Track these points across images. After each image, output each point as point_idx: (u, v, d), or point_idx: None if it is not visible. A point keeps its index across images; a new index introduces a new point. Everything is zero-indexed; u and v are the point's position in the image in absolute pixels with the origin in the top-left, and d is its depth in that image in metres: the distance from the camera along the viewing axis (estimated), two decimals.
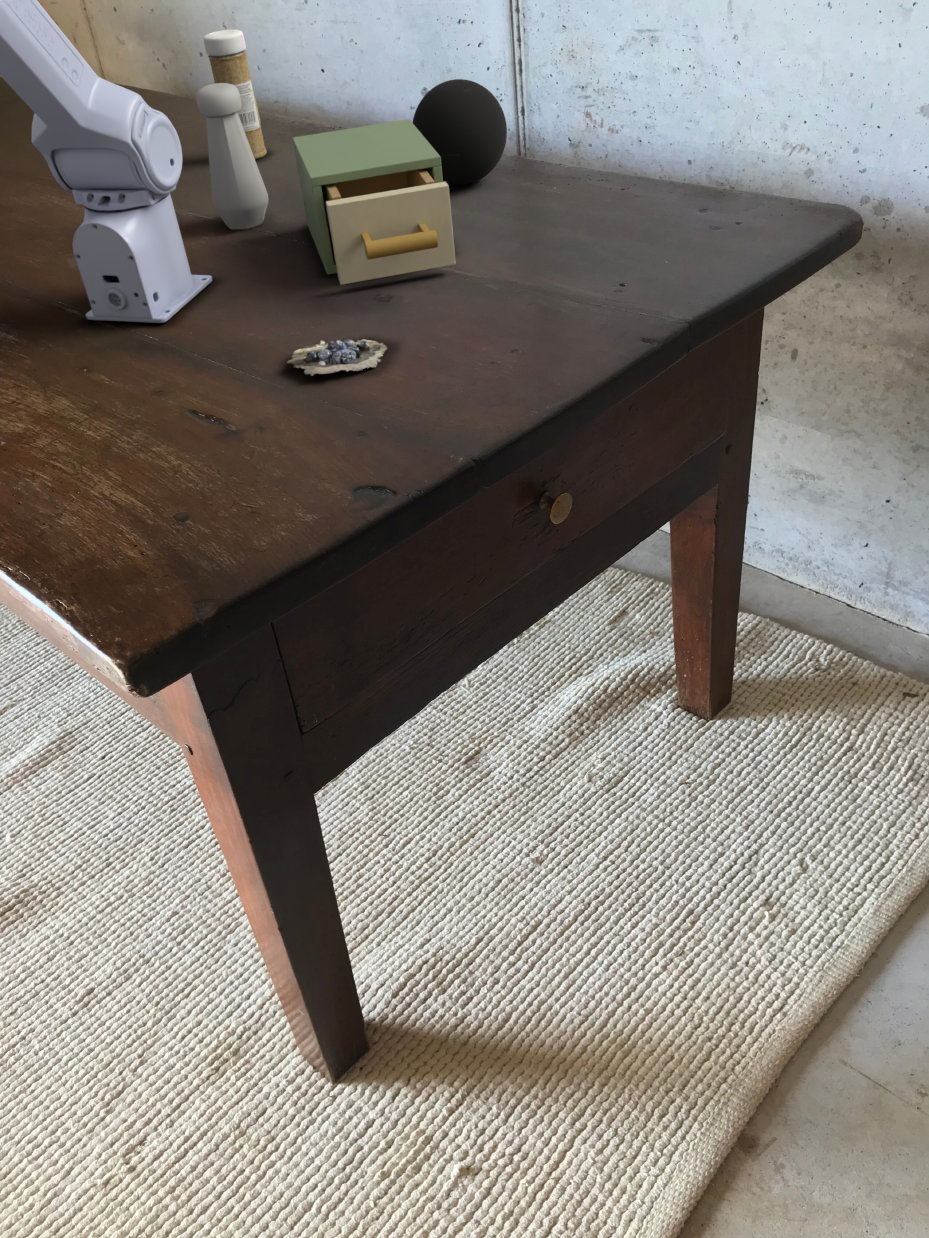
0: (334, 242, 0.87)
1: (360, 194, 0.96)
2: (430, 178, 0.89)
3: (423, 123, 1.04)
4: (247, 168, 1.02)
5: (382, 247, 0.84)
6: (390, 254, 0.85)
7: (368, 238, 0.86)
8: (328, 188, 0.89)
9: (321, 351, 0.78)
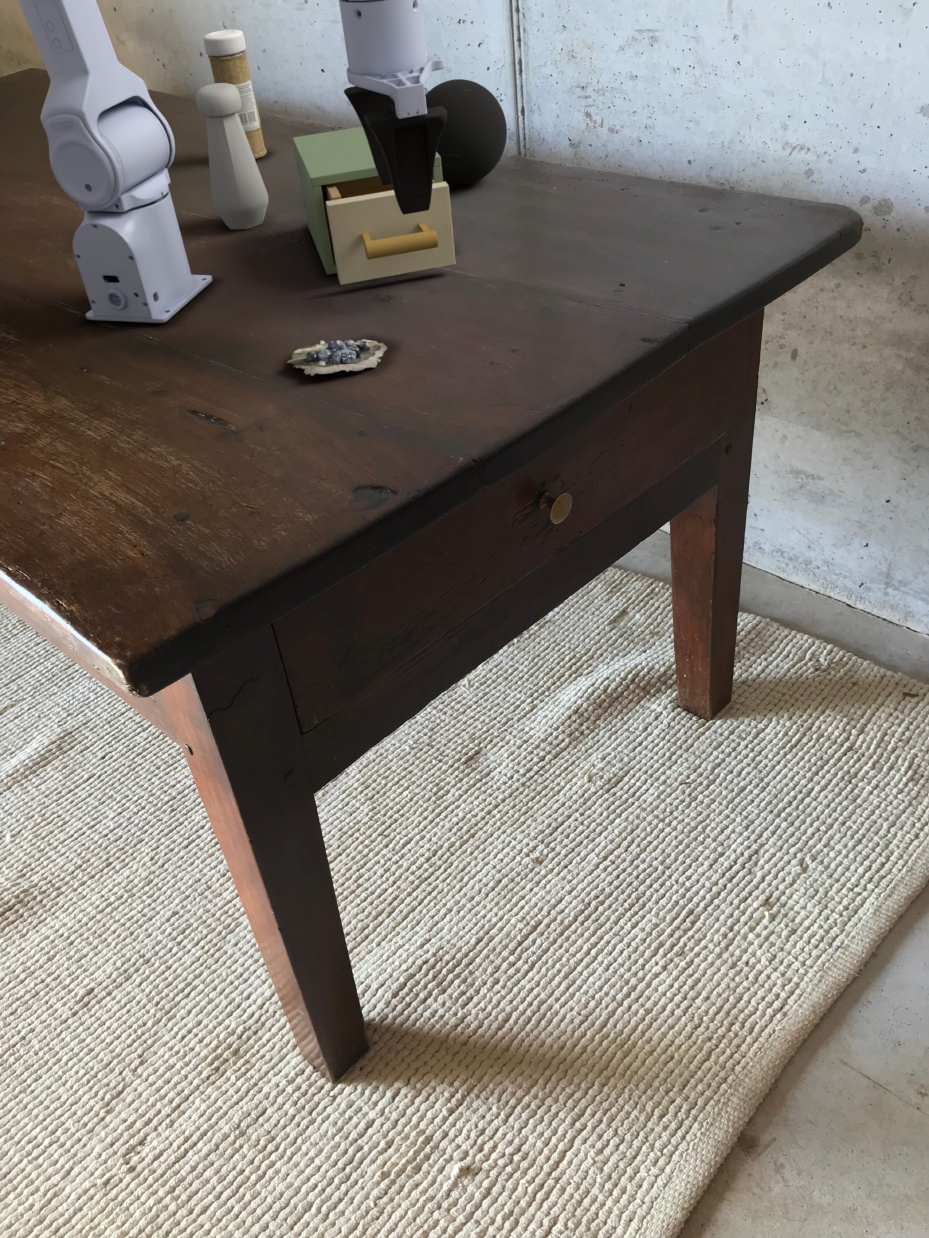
0: (334, 242, 0.87)
1: (360, 194, 0.96)
2: None
3: None
4: (247, 168, 1.02)
5: (382, 247, 0.84)
6: (390, 254, 0.85)
7: (368, 238, 0.86)
8: (328, 188, 0.89)
9: (321, 351, 0.78)
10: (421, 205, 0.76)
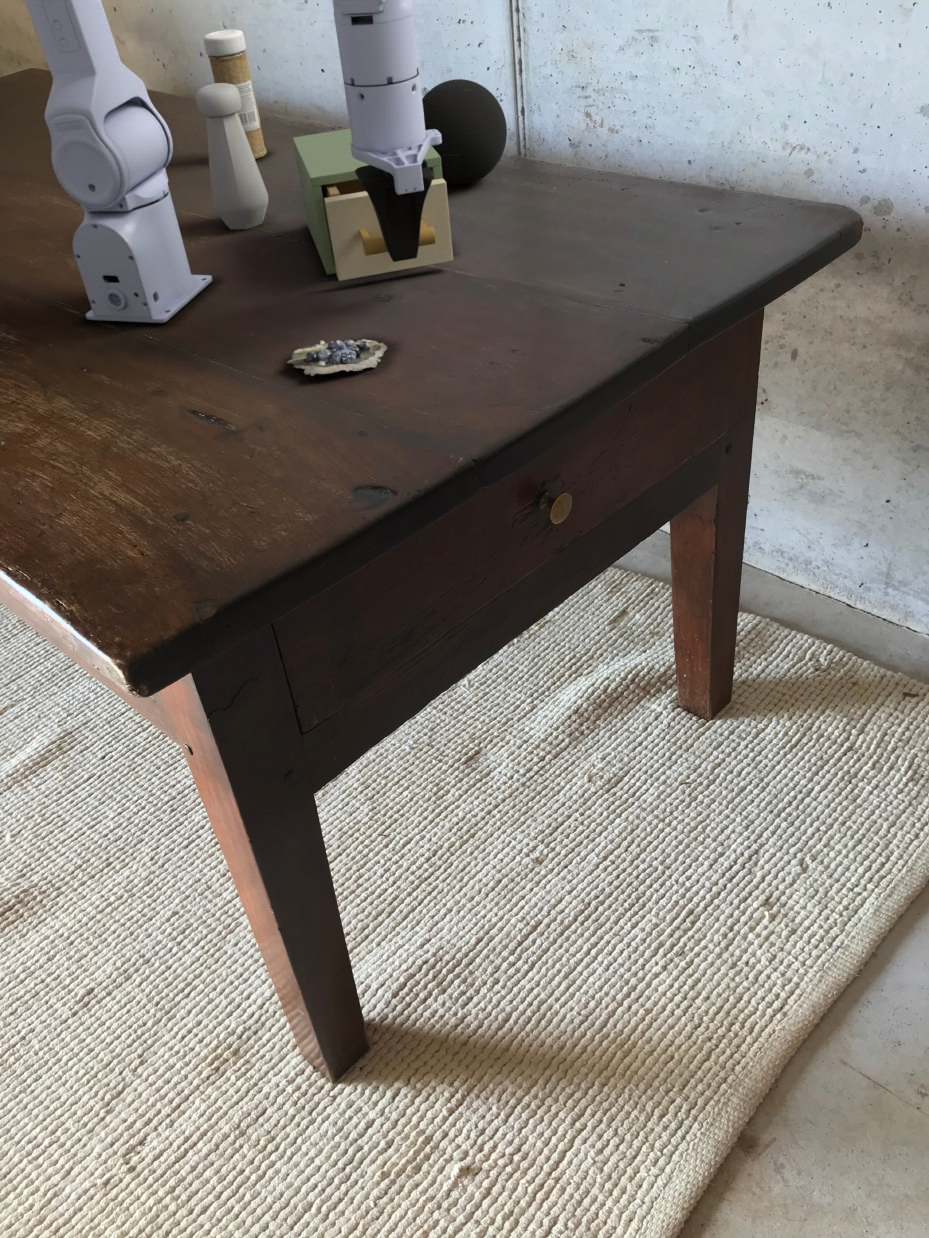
0: (332, 238, 0.88)
1: (358, 191, 0.97)
2: None
3: None
4: (247, 168, 1.02)
5: (380, 243, 0.85)
6: None
7: (366, 234, 0.87)
8: (326, 185, 0.90)
9: (321, 351, 0.78)
10: (409, 253, 0.84)
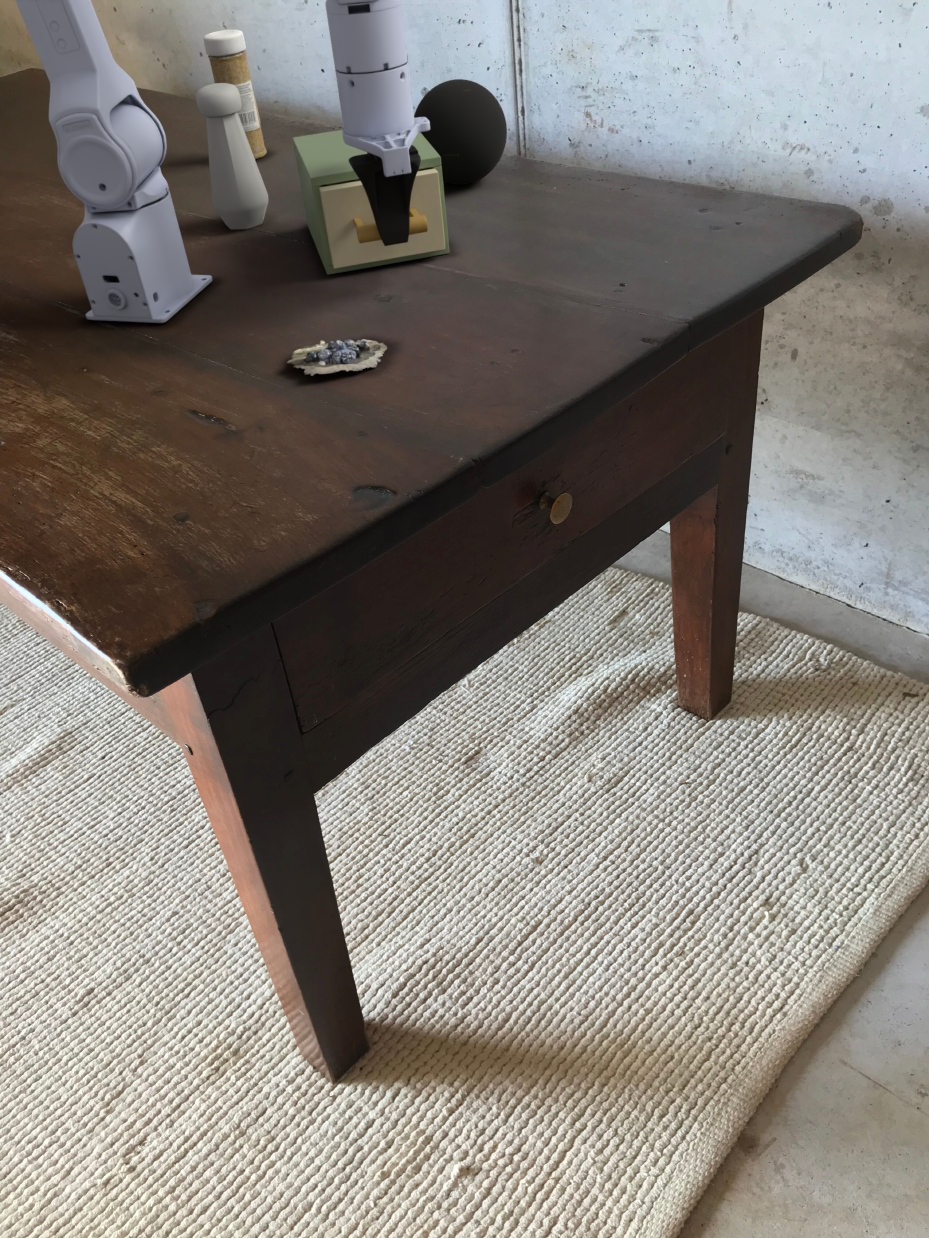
0: (327, 227, 0.90)
1: (353, 182, 0.99)
2: None
3: None
4: (247, 168, 1.02)
5: (373, 231, 0.87)
6: None
7: (360, 223, 0.89)
8: None
9: (321, 351, 0.78)
10: (399, 236, 0.87)
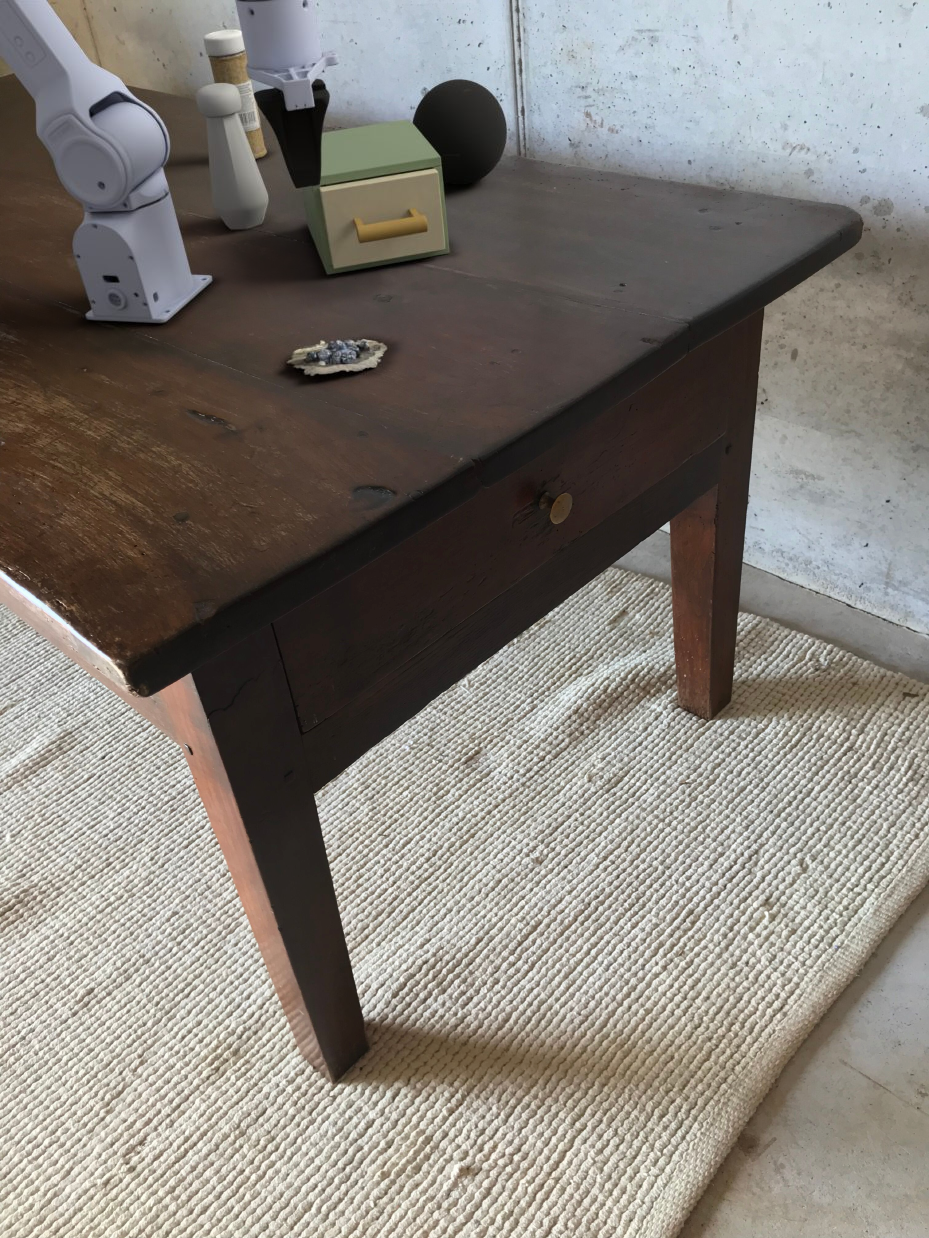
0: (327, 227, 0.90)
1: (353, 182, 0.99)
2: None
3: (423, 123, 1.04)
4: (247, 168, 1.02)
5: (373, 231, 0.87)
6: (381, 238, 0.88)
7: (360, 223, 0.89)
8: None
9: (321, 351, 0.78)
10: (312, 180, 0.83)
